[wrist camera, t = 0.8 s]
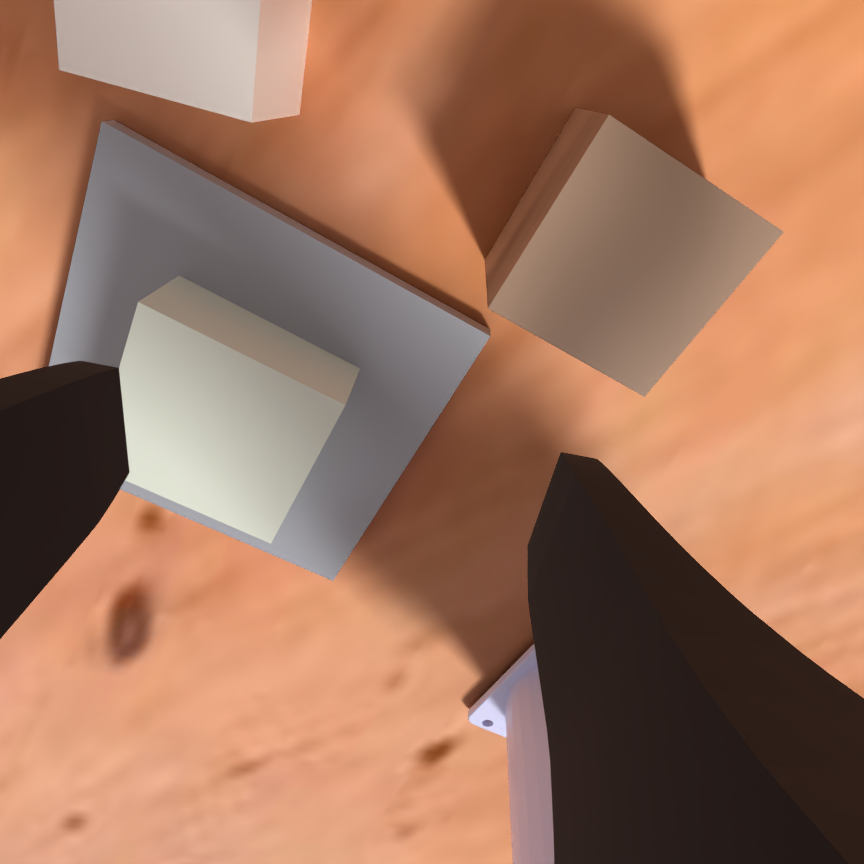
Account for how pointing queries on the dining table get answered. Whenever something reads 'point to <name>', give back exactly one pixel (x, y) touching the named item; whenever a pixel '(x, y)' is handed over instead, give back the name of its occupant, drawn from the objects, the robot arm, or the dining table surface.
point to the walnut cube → (620, 251)
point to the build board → (277, 303)
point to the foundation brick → (225, 406)
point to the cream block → (192, 51)
